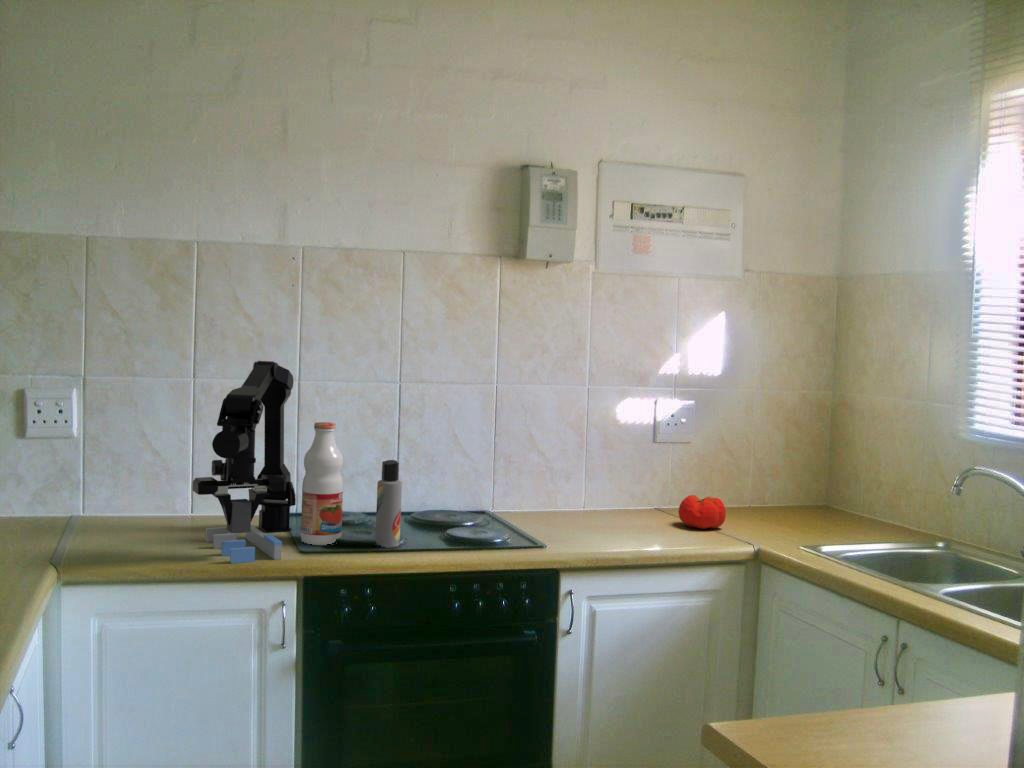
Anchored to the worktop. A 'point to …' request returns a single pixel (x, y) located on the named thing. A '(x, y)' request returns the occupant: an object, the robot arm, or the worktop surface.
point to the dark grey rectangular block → (240, 516)
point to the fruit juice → (322, 488)
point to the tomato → (702, 512)
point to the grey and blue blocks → (243, 544)
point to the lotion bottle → (388, 506)
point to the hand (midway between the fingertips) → (238, 523)
